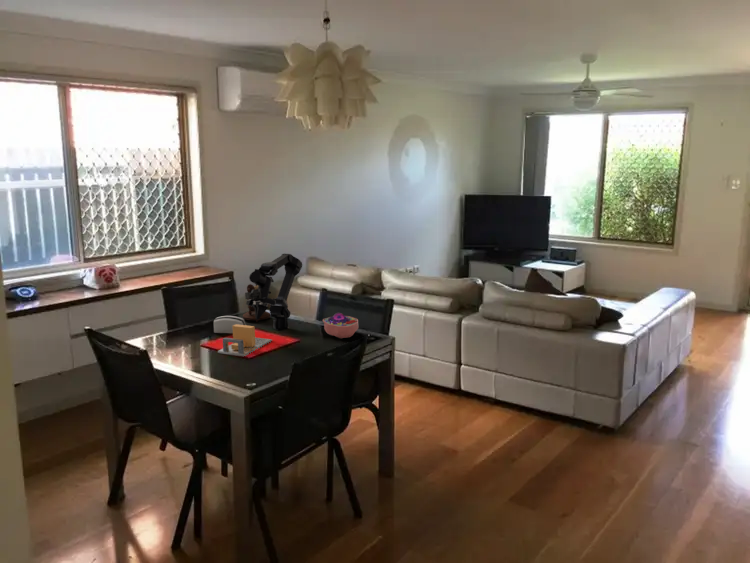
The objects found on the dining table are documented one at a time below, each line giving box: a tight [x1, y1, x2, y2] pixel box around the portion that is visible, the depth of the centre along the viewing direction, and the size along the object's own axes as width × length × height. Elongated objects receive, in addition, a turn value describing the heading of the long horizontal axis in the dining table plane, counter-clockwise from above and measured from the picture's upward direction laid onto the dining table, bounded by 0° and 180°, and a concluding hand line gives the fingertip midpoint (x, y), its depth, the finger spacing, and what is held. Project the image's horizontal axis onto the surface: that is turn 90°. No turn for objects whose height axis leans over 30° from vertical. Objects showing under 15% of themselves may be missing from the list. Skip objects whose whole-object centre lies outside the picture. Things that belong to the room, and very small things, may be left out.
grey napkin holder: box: [213, 315, 247, 334], centre depth 321 cm, size 17×5×10 cm, turn 82°
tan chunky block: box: [230, 324, 256, 350], centre depth 293 cm, size 9×10×9 cm
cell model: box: [322, 312, 359, 339], centre depth 312 cm, size 17×20×11 cm
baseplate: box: [217, 336, 273, 357], centre depth 298 cm, size 24×14×7 cm, turn 159°
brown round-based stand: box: [242, 283, 271, 323], centre depth 344 cm, size 15×15×20 cm
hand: (256, 319), depth 306 cm, fingers closed
